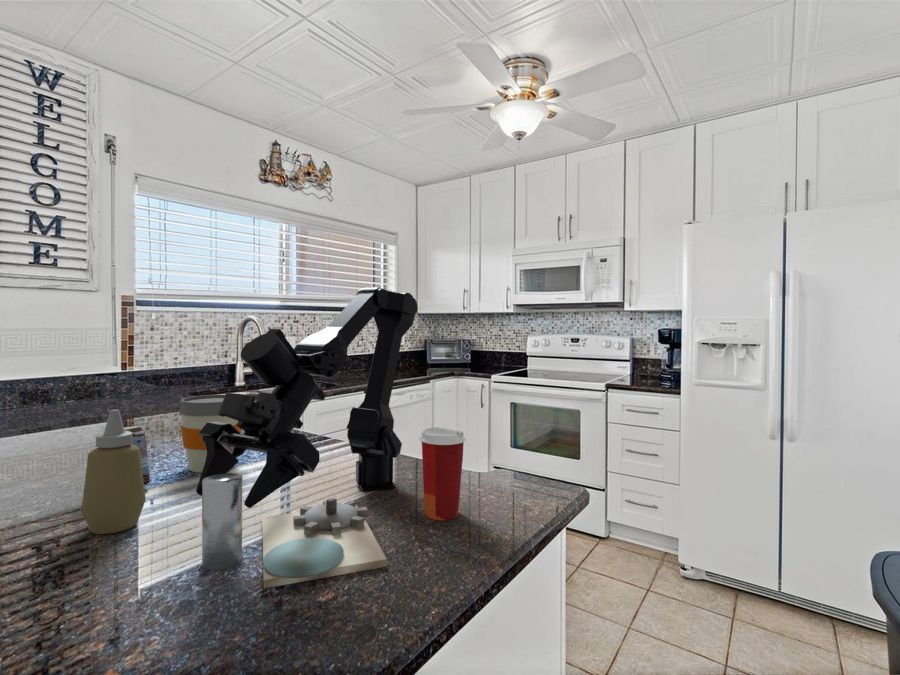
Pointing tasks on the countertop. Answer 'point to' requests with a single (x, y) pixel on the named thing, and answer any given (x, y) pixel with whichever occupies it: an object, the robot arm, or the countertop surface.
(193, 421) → the reusable coffee cup
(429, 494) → the paper cup
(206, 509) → the axle
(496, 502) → the countertop surface
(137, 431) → the beverage can
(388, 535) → the countertop surface
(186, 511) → the countertop surface
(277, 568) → the board
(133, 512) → the squeeze bottle
